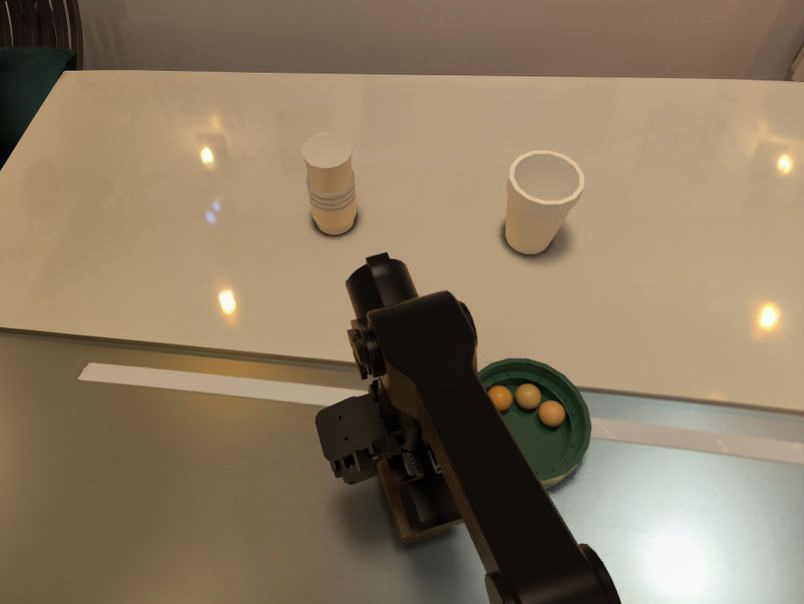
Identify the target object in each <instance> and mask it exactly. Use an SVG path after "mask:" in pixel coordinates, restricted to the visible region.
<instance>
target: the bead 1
mask: <svg viewBox="0 0 804 604" xmlns="http://www.w3.org/2000/svg"><path fill="white" fill-rule="evenodd" d="M488 394H489V395H490V397H491V399H492V400H493V402H494V404H495V405H496V407H497V409H498V410H499V411H504V410H506V409H508V408H509V407H510V406H511V404H512V394H511V392H510V391H509V390H508V389H507V388H506V387H504V386H494V387H492V388H491V389H490V390H489V391H488Z"/></svg>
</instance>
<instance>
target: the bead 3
mask: <svg viewBox="0 0 804 604" xmlns="http://www.w3.org/2000/svg"><path fill="white" fill-rule="evenodd" d="M538 414H539V418H540V420H541V421H542V422H543V423H544V424H545V425H547V426H550V427H556V426H559V425H560V424H562V423H563V421H564V419H565V410H564V408H563V406H562V405H561V404H560V403H558V402H556V401H552V400H550V401H546V402H544V403H542V404H541V406H540V407H539V411H538Z"/></svg>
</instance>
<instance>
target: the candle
mask: <svg viewBox="0 0 804 604" xmlns="http://www.w3.org/2000/svg"><path fill="white" fill-rule="evenodd" d="M353 151H354V150H353V144H352V142H351V140H350V139H349V138H348V137H347V136H346V135H344V134H342V133H339V132H336V131H322V132H319V133H315V134H314V135H311V136H309V138H308V139H306V141H305V142H304V143H303V146H302V148H301V156H302V158H303V161H304V162H305V168H306V177H305V180H306V188H307V194H308V200H309V203H310V206H311V216H312V218H313V220H314V221H315V224H316V226H317V228H318V229H319V231H321V232H323V233H325V234H327V235H333V236H335V235H341V234H344V233H346V232H347V231H349V230H350V229H351V228H352V227H353V225H354V223H355V217H356V215H357V204H356V197H357V192H356V178H355V177H356V175H355V172H354V170H353V167H352V166H353V165H352V164H353V163H352V155H353Z"/></svg>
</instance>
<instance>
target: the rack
mask: <svg viewBox="0 0 804 604" xmlns="http://www.w3.org/2000/svg"><path fill="white" fill-rule="evenodd" d="M382 457H383V460H381V461H380V462H378V463H377V468H378V472H379V473H378V474H379V477H380V479H381V483H382V486H383V490H384V493H385V497H386V499H387V502H388V506H389V509H390V513H391V516H392V519H393V522H394V523H393V524H394V526H395V529H396V531H397V535H398V540H399V542H400V545H401V546H405V545H408V544H412V543H414V542H418V541H422V540H424V539H428V538H430V537H435V536H437V535H440V534H443V533H447V532H449V531H452V530H453V527H454V526H452V527H449V528H446V529H442V530H439V531H436V532H433V533H430V534H427V535H423V536H420V537H416V536H415V535H413V534H411V533H410V532H409V529H408V526H407V523H406V520H405V517H404V514H403V510H402V507H401V504H400V501H399V496H398V492H397V488H399V487H401V486H402V485H404V484H406V483H408V482H411V481H414V480H417V479H421V478H423V477H420V478H417V479H413V480H410V481H407V482H397V481H395V480H394V479H393V477H392V474H391V471H390V468H389V464H388V461H387V458H386V455H385V454H382ZM437 473H438V472H436V474H437Z"/></svg>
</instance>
